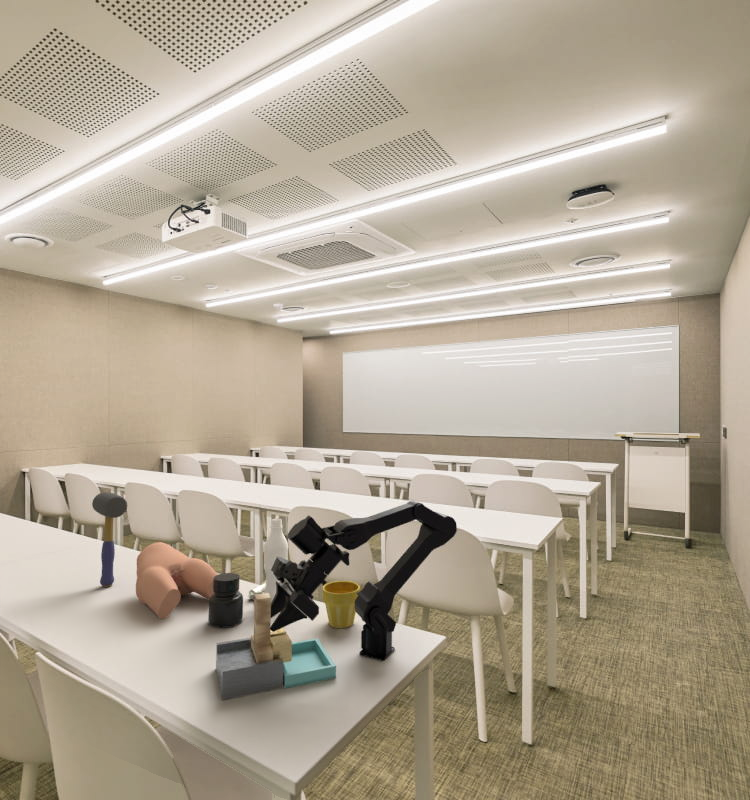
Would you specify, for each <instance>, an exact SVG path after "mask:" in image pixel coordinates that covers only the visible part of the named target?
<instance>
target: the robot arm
mask: <svg viewBox="0 0 750 800" xmlns="http://www.w3.org/2000/svg"><path fill="white" fill-rule="evenodd" d="M413 521H417V522H419V523H421V524H420V527H419V532H418V535H417V538H416V539H415V540H414V541H413V542H412V543H411V544H410V546H409V547H408V548H407V549H406V550H405V552H404V553H403V554H402V555H401V556H400V557H399V559H398V560H396V562H395V563H394V564H393V566H392V567H390V568H389V570H387V573H386V574H385V575H384V576H383V577H382V578H381V580H379V581H378V582H376V583H374V584H373V583H372V582H370V581H367V582H366V583H365V585H364V586H363V587H362V589H360V592H358V593H357V595H358V596H357V598H356V599H355V602H354V603H355V607H354V608H355V611H356V613H355V614H357V615H358V616H359V617H360V618H361V620H362V621H363V622H364V623H365V624H363V625H362V630H361V633H360V634H361V636H360V648H361V650H360V651H359V653H358V654H359V655H360V656H363V657H367V658H370V659H374V660H378V661H385V660H386V659H387V658H388V657H389V656H391V654H392V653H393V652H394V651H395V650H396V649H395V646H393V632H394V631H395V629H396V625H397V621H395V619H394V618H392V617H391V616H390V615H389V613H390V611H391V610H392V607H393V604H394V600H395V596H396V595H397V594H398V593H399V592H400V590H401V589H402V588H403V586H404V585H405V584H406V583H407V582H408V581H409V579H410V578H411V577H412V576H413V574H414V573H415V572H416V571H417V570H418V569H419V567H420V566H421V565H422V564H423V563H424V561H425V560H426V559H427V558H428V557H429V556H430V554H431V553H432V552H433V551H434V550H436V549H439V548H440V547H443V546H445V544H447V543H448V542H449V541H451V540H452V539H453V538H454V537H455V536H456V533H457V532H458V529H457V527H458V526H457V522H456V520H455V518H453V517H451V516H449V515H446V514H443V513H442V512H438V511H433V510H432V509H430V508H429V507H427V506H425V505H424V504H423V503H421V502H419V501H415V500H410V501H408V502H406V503H404V504H401V505H398V506H395V507H392V508H390V509H387V510H384V511H381V512H378V513H376V514H373V515H370V516H367V517H366V516H365V517H352V518H345V519H341V520H340V519H339V520H338V521H337V522H336V523H334V524H333V525H330V526H326V527H325V526H324V527H321V526H320V525H319V524H318V523H317V522H316V520H315V519H314V518H313V517H312V516H311V515H309V514H308V515H307V516H306V517H305V518H303V519H302V520H299V522H297V523H295V524H294V525H293V526H292V527H291V529H289V532H288V533H287V539H288V540H289V541H291V543H293V544H294V545H295V547H296V548H297V549H299V550H300V551H301V552H302V553H303V554H304V555H306V556H307V555H309V554H311V556H310V557H309V558H308V559H307V560H305V559H304V560H301V561H300V562H299V563H296V562H295V561H294V562H293V561H291V560H289V559H288V560H286V559H284V558H281V557H277V558H276V560H275V562H274V564H273V566H272V569H271V571H273V574H274V575H275V577H276V578H277V580H278V581H280V582H279V583H278V582H277V581H276V594H275V596H274V599H273V600H272V602H271V619H272V618H274V617H275V616H276V615H277V617H276V618H275V619H274V621H273V622H272V623H271V624H270V630H271V631H272V632H274V631H277V630H279V629H281V628H283V627H284V628H286V626H289V625H291V624H294V623H296V622H298V621H300V620H304V619H310V620H311V621H314V620H315V619H316V618H317V616H319V614H320V607H319V605H318V604H317V603H316V602H315V601H314V600H313V599H314V598H315V596H314V595H313V594H314V592H316V590H317V589H318V588H319V587H320V586H321V585H322V587H323V586H324V585H325V584H327V582H328V581H326V579H327V577H328V576H329V575H330V574H331V573H332V572H333V570H334V569H335V568H337V566H338V565H339V563H341V562H342V563H343V564H345V565H346V566H347V567H348V566H350V553H349V551H352V550H356V549H358V548H359V547H361V546H363V545H364V544H366V543H368V542H369V541H370V540H371V538H373V537H375V536H376V535H378V534H381V533H383V532H386V531H388V530H392V529H394V528H397V527H399V526H403V525H405V524H408V523H411V522H413ZM326 540H328V541H330V543H332V544H330V545H329V543H328V542H327V541H326ZM337 545H339V546H341V547H342V548H343V549H345V550H344V551H343V550H341V548H340V547H339V546H337ZM347 550H348V551H347Z"/></svg>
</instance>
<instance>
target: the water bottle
mask: <svg viewBox="0 0 750 800" xmlns="http://www.w3.org/2000/svg"><path fill="white" fill-rule="evenodd" d="M270 525H271V526H270V533H269V534H268V537H267V539H266V540H265V543H264V546H263V550H264V552H263V568H264V572H265V580H266V587H265V590H264V593H269V595H270V597H271V602H272V600H273V599H274V596H275V594H276V581H277V582H278V583H279V582H280V581H278V580H277V578H276V577H275V575H274V574H273V571H271V569H272V566H273V564H274V562H275V560H276V558H277V557H281V558H284V559H286V560H289V557H288V556H289V543H288V540H287V539H286V537H285V535H284V533H283V527H284V526H283V520H282V518H272V519H271V524H270ZM264 593H263V594H264Z"/></svg>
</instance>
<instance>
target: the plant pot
mask: <svg viewBox="0 0 750 800" xmlns="http://www.w3.org/2000/svg"><path fill="white" fill-rule="evenodd" d="M321 590H322V593H321V594H322V596H321V597H322V601H323V602H324V603H323V604H325V610H326V614H327V619H328V624H329V625H330V626H331V627H332V628H335V629H345V628H346V629H347V628H350V627H352V626H353V625H354V623H355V618H356V614H357V613H356V611H355V608H354V607H355V603H354V602H355V599H356V598H357V596H358V595H357V593H358V592H360V591H361V585H359V584H358V583H357V582H354V581H349V580H335V581H331V582H328V583H326V584H325V585H324V586H323V585H322V589H321Z"/></svg>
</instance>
